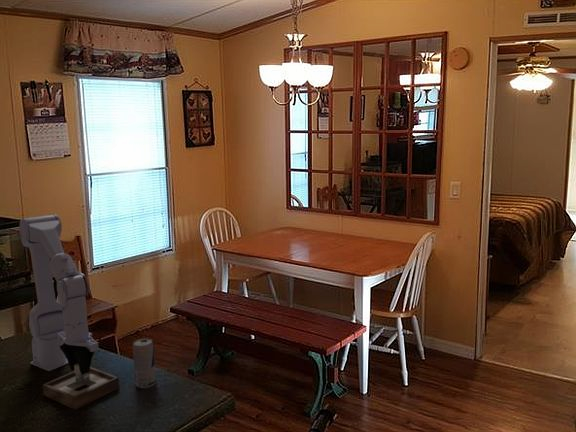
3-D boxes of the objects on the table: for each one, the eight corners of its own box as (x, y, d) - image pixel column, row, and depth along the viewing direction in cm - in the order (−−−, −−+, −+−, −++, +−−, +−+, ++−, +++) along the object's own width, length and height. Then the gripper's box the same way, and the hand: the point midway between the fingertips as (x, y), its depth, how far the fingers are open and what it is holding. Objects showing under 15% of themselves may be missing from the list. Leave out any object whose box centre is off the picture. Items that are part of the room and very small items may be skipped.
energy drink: (157, 379, 155) (155, 337, 153) (153, 388, 150) (151, 345, 148) (138, 379, 155) (135, 338, 153) (133, 389, 150) (130, 346, 147)
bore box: (43, 395, 147) (42, 384, 147) (88, 375, 158) (87, 365, 158) (75, 409, 140) (74, 398, 139) (119, 387, 150) (118, 377, 150)
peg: (72, 382, 148) (70, 364, 147) (82, 376, 151) (80, 359, 150) (83, 384, 146) (81, 366, 146) (93, 378, 150) (91, 361, 149)
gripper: (106, 322, 145) (110, 371, 147) (72, 311, 153) (76, 359, 155) (82, 330, 139) (87, 382, 141) (48, 319, 147) (53, 368, 149)
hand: (80, 371), depth 148 cm, fingers closed on peg, 4 cm apart
